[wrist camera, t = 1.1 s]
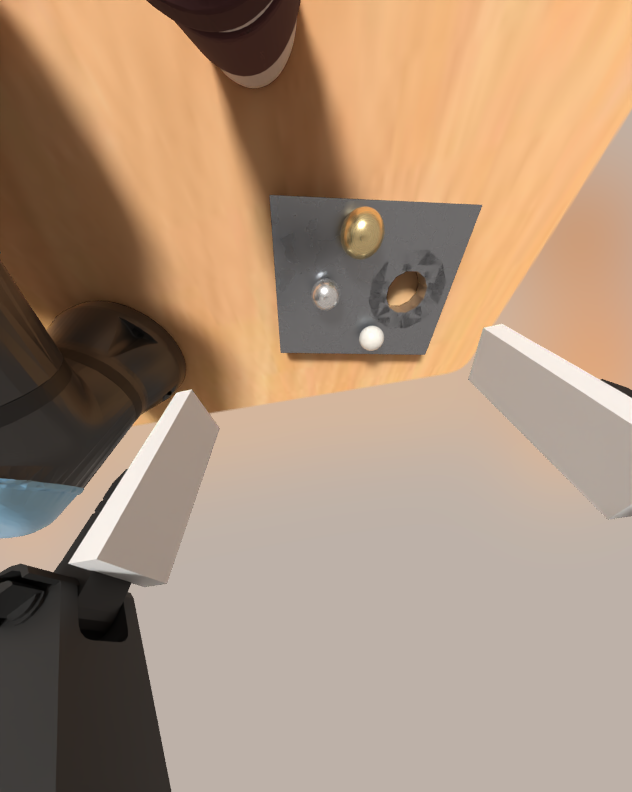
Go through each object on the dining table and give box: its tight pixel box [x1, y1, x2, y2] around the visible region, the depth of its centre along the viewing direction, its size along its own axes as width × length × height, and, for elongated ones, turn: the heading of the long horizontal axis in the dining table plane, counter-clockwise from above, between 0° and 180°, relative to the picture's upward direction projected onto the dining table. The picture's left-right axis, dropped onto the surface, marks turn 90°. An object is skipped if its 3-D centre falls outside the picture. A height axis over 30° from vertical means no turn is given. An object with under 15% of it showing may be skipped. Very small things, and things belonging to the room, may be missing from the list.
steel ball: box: [311, 278, 341, 311], centre depth 25 cm, size 3×3×3 cm
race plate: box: [270, 195, 482, 355], centre depth 27 cm, size 20×16×2 cm
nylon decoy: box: [359, 326, 384, 351], centre depth 28 cm, size 3×3×3 cm
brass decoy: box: [340, 206, 385, 260], centre depth 21 cm, size 4×4×4 cm
